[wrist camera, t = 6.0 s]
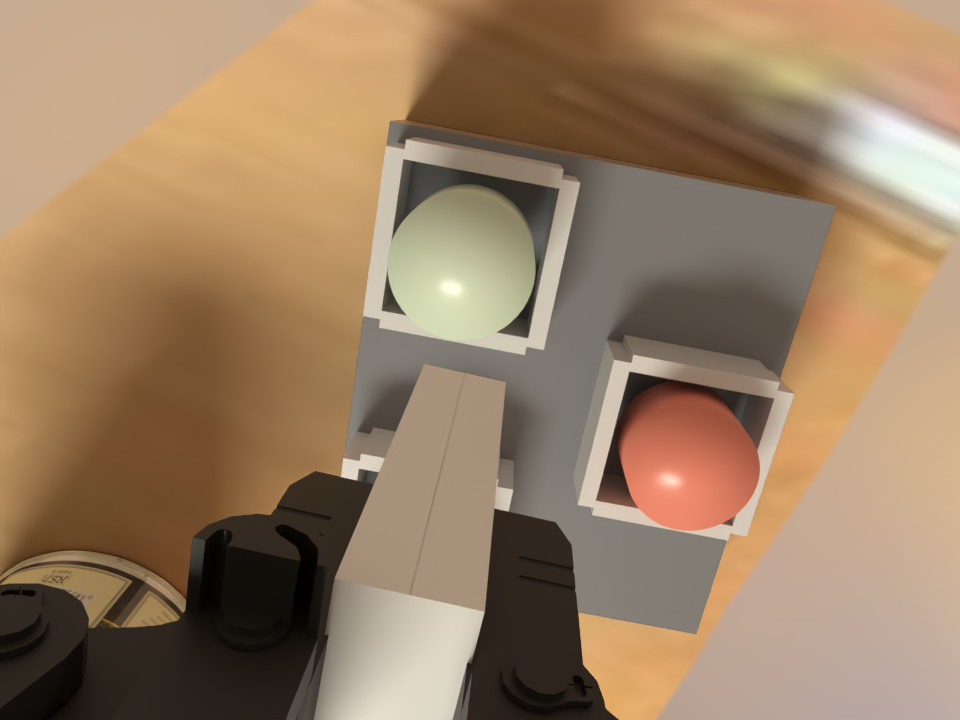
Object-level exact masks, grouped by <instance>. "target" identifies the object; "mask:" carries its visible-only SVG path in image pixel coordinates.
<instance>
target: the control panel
mask: <svg viewBox="0 0 960 720" xmlns="http://www.w3.org/2000/svg"><path fill="white" fill-rule="evenodd" d="M459 184H476V185H482V186H485V187H489V188H491V189H494V190H496V191H498V192H500V193H502V194H503V195H505V196H506V197H507V198H509V199H510V200H511V201H512V202H513V203H514V204H515V205H516V206H517V207H518V208H519V209H520V211H521V212H522V213H523V215H524V217H525V218H526V220H527V222H528V225H529V227H530V229H531V233H532V237H533V244H534V254H535V280H534V285H533V289H532V292H531V294H530V297H529V299H528V301H527V303H526V305H525V306H524V308H523V310H522V311H521V312H520V313H519V315H518V316H517V317H516V318H515V319H514V320H513V321H512V322H511V323H510V324H508V325H507V326H506V327H504V328H503V329H501V330H499V331H498V332H496V333H494V334H491V335H489V336H486V337H483V338H479V339H473V340H453V339H447V338H443V337H439V336H437V335H434V334H432V333H430V332H428V331H426V330H424V329H422V328H421V327H420V326H418V325H417V324H415V323H414V322H413V321H412V320H411V319H410V318H409V317H408V316H407V315H406V314H405V313H404V311H403V310H402V309H401V307H400V306H399V304H398V303H397V301H396V299H395V297H394V295H393V292H392V289H391V286H390V283H389V277H388V266H387V264H388V254H389V249H390V245H391V242H392V239H393V237H394V235H395V233H396V231H397V229H398V227H399V226H400V225H401V223H402V222H403V220H404V219H405V218H406V217H407V216H408V215H409V214H410V213H411V212H412V211H413V210H414V209H415V208H416V207H417V206H418V205H420V204H421V203H422V202H423V201H424V200H425V199H426V198H428V197H429V196H430V195H432V194H433V193H435V192H437V191H439V190H441V189H443V188H446V187H449V186H453V185H459ZM835 209H836V206H835V205H831V204H828V203H825V202H821V201H818V200H815V199H811V198H808V197H805V196H802V195H797V194H792V193H787V192H782V191H776V190H771V189H766V188H761V187H755V186H750V185H745V184H740V183H734V182H729V181H724V180H719V179H713V178H708V177H703V176H698V175H692V174H687V173H682V172H677V171H671V170H666V169H661V168H656V167H650V166H645V165H640V164H635V163H629V162H624V161H619V160H614V159H608V158H603V157H598V156H593V155H587V154H582V153H577V152H572V151H566V150H561V149H556V148H551V147H545V146H540V145H535V144H530V143H524V142H519V141H514V140H509V139H503V138H498V137H493V136H488V135H482V134H477V133H472V132H467V131H461V130H456V129H451V128H446V127H440V126H435V125H430V124H425V123H419V122H414V121H409V120H397V121H390V125H389V132H388V140H387V146H386V148H385V156H384V163H383V171H382V178H381V185H380V193H379V200H378V207H377V215H376V222H375V229H374V237H373V244H372V252H371V259H370V266H369V274H368V281H367V288H366V296H365V303H364V311H363V323H362V331H361V338H360V345H359V353H358V360H357V367H356V375H355V382H354V390H353V397H352V404H351V412H350V419H349V426H348V434H347V441H346V448H345V456H344V458H343V465H342V473H341V477H343V478H348V479H352V480H357V481H361V482H366V483H370V484H374V483H375V481H376V478H377V476H378V473H379V471H380V469H381V466H382V464H383V462H384V459H385V457H386V454H387V452H388V450H389V447H390V445H391V442H392V440H393V438H394V435H395V433H396V430H397V428H398V426H399V423H400V421H401V419H402V416H403V414H404V411H405V409H406V407H407V404H408V402H409V399H410V397H411V395H412V392H413V390H414V387H415V385H416V383H417V380H418V378H419V376H420V373H421V371H422V368H423V366H424V364H427V365H431V366H436V367H440V368H445V369H449V370H454V371H458V372H463V373H467V374H472V375H476V376H481V377H485V378H490V379H494V380H499V381H503V382H506V386H505V397H504V408H503V419H502V430H501V440H500V451H499V462H498V473H497V484H496V495H495V506H494V508H495V509H499V510H504V511H508V512H513V513H517V514H522V515H526V516H531V517H535V518H540V519H544V520H549V521H553V522H556V523H557V525H558V526H559V527H560V529H561V530H562V532H563V533H564V535H565V536H566V537H567V539H568V540H569V542H570V543H571V545H572V553H573V564H574V570H573V572H574V575H575V585H576V588H575V592H576V596H577V607H578V612H580V613H585V614H590V615H596V616H601V617H607V618H612V619H617V620H623V621H628V622H634V623H639V624H644V625H650V626H655V627H660V628H666V629H671V630H677V631H682V632H687V633H693V634H696V633H697V630H698V627H699V624H700V621H701V618H702V615H703V612H704V608H705V605H706V602H707V599H708V596H709V593H710V590H711V587H712V584H713V581H714V578H715V575H716V572H717V569H718V566H719V563H720V560H721V557H722V554H723V550H724V547H725V544H726V541H727V540H728V539H729V536H730V533H731V534H736V535H742V536H747V533H748V530H749V527H750V524H751V521H752V518H753V516H754V513H755V510H756V507H757V504H758V501H759V498H760V495H761V492H762V489H763V486H764V483H765V480H766V477H767V474H768V471H769V468H770V465H771V462H772V459H773V456H774V453H775V450H776V447H777V444H778V441H779V438H780V435H781V432H782V429H783V426H784V423H785V420H786V417H787V414H788V412H789V409H790V406H791V403H792V400H793V397H794V393H793V392H792V391H791V390H790V389H789V388H788V387H787V386H786V385H785V384H784V382H783V381H782V380H781V379H780V377H781V373H782V370H783V367H784V364H785V361H786V358H787V355H788V352H789V349H790V346H791V343H792V340H793V337H794V334H795V331H796V328H797V325H798V322H799V319H800V316H801V312H802V309H803V306H804V303H805V300H806V297H807V294H808V291H809V288H810V285H811V282H812V279H813V276H814V273H815V270H816V267H817V264H818V261H819V258H820V254H821V251H822V248H823V245H824V242H825V239H826V236H827V233H828V230H829V227H830V224H831V221H832V218H833V215H834V212H835ZM670 381H683V382H689V383H694V384H699V385H703V386H706V387H707V388H709V389H711V390H713V391H714V392H715V393H717V394H718V395H719V396H720V397H721V398H722V399H723V400H724V401H725V403H726V404H727V405H728V407H729V408H730V410H731V411H732V412H733V414H734V415H735V417H736V418H737V420H738V421H739V422H740V424H741V425H742V427H743V428H744V430H745V431H746V432H747V434H748V435H749V437H750V438H751V440H752V441H753V443H754V445H755V447H756V450H757V452H758V456H759V461H760V474H759V480H758V484H757V487H756V489H755V492H754V494H753V495H752V497H751V499H750V500H749V502H748V503H747V504H746V506H745V507H744V508H743V509H742V510H741V511H740V512H739V513H737V514H736V515H735V516H734V517H732V518H731V519H729V520H727V521H726V522H724V523H722V524H719V525H717V526H714V527H711V528H707V529H703V530H695V531H683V530H676V529H672V528H668V527H665V526H662V525H660V524H658V523H656V522H654V521H653V520H651V519H650V518H648V517H647V516H646V515H645V514H644V513H643V512H642V511H641V510H640V509H639V508H638V507H637V505H636V504H635V502H634V500H633V499H632V496H631V494H630V492H629V488H628V485H627V481H626V478H625V474H624V471H623V467H622V464H621V460H620V457H619V453H618V449H617V444H616V432H617V426H618V423H619V420H620V417H621V415H622V413H623V411H624V410H625V408H626V407H627V405H628V404H629V403H630V402H631V401H632V400H633V399H634V398H635V397H636V396H637V395H639V394H640V393H641V392H643V391H644V390H646V389H648V388H650V387H652V386H655V385H657V384H660V383H664V382H670Z"/></svg>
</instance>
